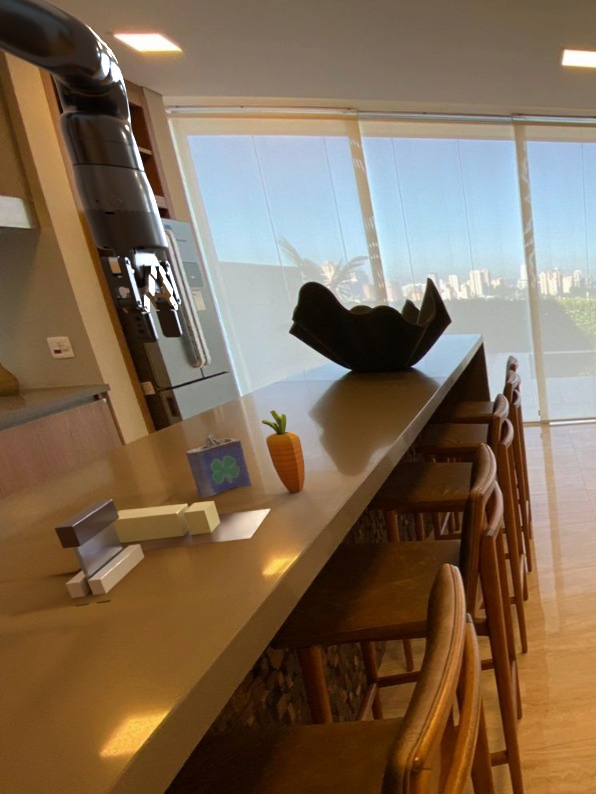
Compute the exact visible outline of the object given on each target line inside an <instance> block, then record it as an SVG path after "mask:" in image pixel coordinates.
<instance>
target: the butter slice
mask: <svg viewBox="0 0 596 794" xmlns="http://www.w3.org/2000/svg"><path fill="white" fill-rule="evenodd" d="M218 514H219V513H218V510H217V507H216V504H215V501H214V500H210V501H208V500H207V501H199V502H194V503H191V505H190V506H188V509H187V510H186V511H185V512H184V515H185V518H186V522H187V525H188V528H189V531H190V534H191V535H196V534H205V533H212V531H213V530H214V529H215V528H216V527H217V526H218V525H219V524H220V520H219V516H218Z"/></svg>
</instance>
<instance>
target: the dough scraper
mask: <svg viewBox="0 0 596 794" xmlns="http://www.w3.org/2000/svg"><path fill="white" fill-rule="evenodd" d="M118 512H119V511H118V510H117V507H116V505H115V502H114V500H113V498H112V499H100V500H96V501H95V502H93V503H91V504H89V505H88V506H86V507H85V508H83V509H82V510H80V511H79V512H77V513H75V514H74V515H73V516H71V517H69V518H67V519H66V520H65V521H63V522H62V523H60V524H58V525H57V526H56V527H54V531H55V533H56V536H57V539H58V540H59V542H60V545H61V547H62V549H70V548H72V549H73V551H74V554H75V556H76V559H77V561H78V563H79V565H80V568H81V571H82V570H83V573H84V575H85V577H86V580H87V582H88V580H89V579H91V578H92V577H93V576H94V575H95V574H96V573H97V572H99V571H100V570H101V569H102V568H103V567H104V566H106V565H107V564H108V563H109V562H110V561H111V560H113V559H114V558H115V557H116V556H117V555H118V554H120V553H121V552H122V551H123V548H122V545H121V543H120V540H119V537H118V535H117V532H116V529H115V527H114V524H113V522H114V521H116V520H117V519H118V518H119V515H118ZM88 585H89V583H88ZM89 587H90V585H89ZM90 589H91V588H90ZM90 592H91V593H92V590H91V591H90Z"/></svg>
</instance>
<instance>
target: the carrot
mask: <svg viewBox="0 0 596 794" xmlns="http://www.w3.org/2000/svg"><path fill="white" fill-rule="evenodd" d="M270 414H271V416H272V418H273V419H274V422H272V421H270V420H267V419H263V420H261V424H262V425H263V424H264V425H267V426H269V427H270V428H271V429H273V431H274V432H275V433H272V434H269V435H267V437H266V439H265V442H266V446H267V450H268V452H269V456H270V460H271V463H272V465H273V467H274V470H275V472H276V474H277V476H278V478H279V480H280V482H281V483H282V484H283V486H284V488H285V489H286V490H287V491H288V492H289V494H297V493H298V494H299V493H300V492H302V491H303V489H304V486H305V485H304V484H305V475H306V474H305V473H306V471H305V458H304V453H303V448H302V443H301V439H300V438H299V436H298V435H297V434H296V433H295V432H292V431H286V429H287V415H286V414H285V413H281V415H279V413H278V412H277V410H273V409H272V410H271V411H270Z"/></svg>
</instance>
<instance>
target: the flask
mask: <svg viewBox="0 0 596 794" xmlns="http://www.w3.org/2000/svg"><path fill="white" fill-rule="evenodd" d="M201 438H202V439H205V442H204V444H206V445H203V446H199V447H195V448H192V449H190V450H188V451H186V452H185V455H186V458H187V460H188V464H189V467H190V471H191V474H192V478H193V480H194V483H195V487H196V490H197V494H198V498H209V497H213V496H215V495H218V494H220V493H222V492H225V491H227V490H230V489H233V488H234V489H235V488H242V487H243V488H245V487H252V486H253V485H252V481H251V478H250V473H249V469H248V464H247V461H246V457H245V453H244V449H243V447H242V446H243V445H242V441H241V440H240V439H239V438H221V439H215V436H214V435H213V434H210V433H207V434H205V435H203V436H201Z"/></svg>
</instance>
